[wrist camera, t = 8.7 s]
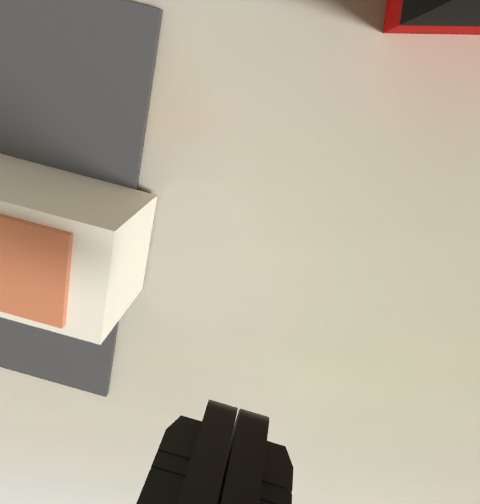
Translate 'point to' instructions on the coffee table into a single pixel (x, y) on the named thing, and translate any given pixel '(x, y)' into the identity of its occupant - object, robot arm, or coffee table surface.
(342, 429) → the coffee table surface
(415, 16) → the puzzle toy
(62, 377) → the mat
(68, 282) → the tall block
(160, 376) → the coffee table surface
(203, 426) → the robot arm
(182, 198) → the coffee table surface
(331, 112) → the coffee table surface
